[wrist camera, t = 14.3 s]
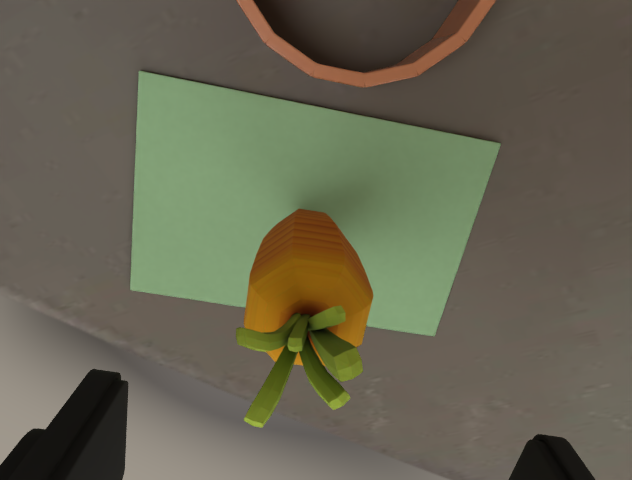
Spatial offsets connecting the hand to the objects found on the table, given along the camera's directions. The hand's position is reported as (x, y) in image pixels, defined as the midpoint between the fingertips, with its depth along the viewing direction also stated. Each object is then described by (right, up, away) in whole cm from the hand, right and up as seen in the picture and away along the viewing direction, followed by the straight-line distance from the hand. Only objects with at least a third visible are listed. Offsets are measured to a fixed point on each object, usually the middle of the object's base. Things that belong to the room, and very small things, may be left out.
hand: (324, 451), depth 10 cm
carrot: (-1, +6, +16) cm, 17 cm away
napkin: (-1, +6, +16) cm, 17 cm away
